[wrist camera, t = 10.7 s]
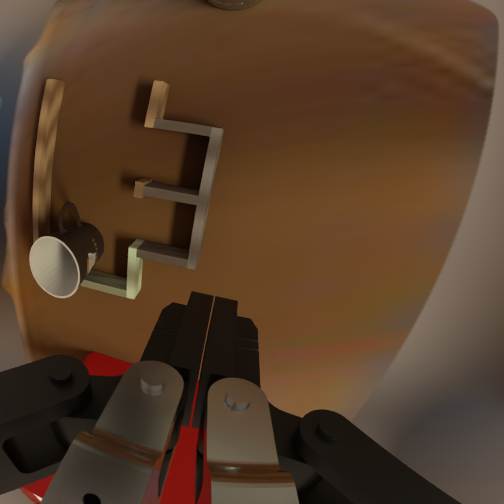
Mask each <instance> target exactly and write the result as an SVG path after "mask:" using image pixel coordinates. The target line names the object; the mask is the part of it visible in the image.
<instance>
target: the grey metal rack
mask: <svg viewBox="0 0 504 504" xmlns="http://www.w3.org/2000/svg"><path fill="white" fill-rule="evenodd" d="M64 86H65V81H61V80H56V79H47V81H46V86H45V91H44V96H43V101H42V107H41V113H40V119H39V126H38V134H37V142H36V151H35V163H34V179H33V243H34V242H35V241H36V240H37V239H39V238H41V237H43V236H46V235H49V234H50V204H51V181H52V168H53V157H54V147H55V139H56V131H57V125H58V118H59V112H60V106H61V101H62V96H63V91H64ZM169 89H170V85H168V84H167V83H165V82H163V81H154V83H153V88H152V92H151V96H150V101H149V105H148V110H147V115H146V120H145V125H144V127H150V128H158V129H165V130H172V131H179V132H185V133H192V134H198V135H204V136H209V137H210V140H209V145H208V150H207V155H206V160H205V165H204V170H203V175H202V180H201V185H200V191H199V190H194V189H189V188H183V187H178V186H172V185H167V184H161V183H155V182H152V179H149V178H142V179H140V180H138V181H135V188H134V196H133V197H138V198H143V197H145V196H150V197H155V198H161V199H166V200H171V201H177V202H182V203H187V204H192V205H197V207H196V213H195V219H194V225H193V231H192V237H191V243H190V250H189V249H184V248H179V247H174V246H169V245H164V244H159V243H155V242H150V241H145V240H140V239H136V240H135V241H134V242H133V243H132V244H131V245H130V246H129V250H128V267H127V278H124V277H120V276H115V275H111V274H107V273H103V272H99V271H95V270H90V272H89V273H88V275H87V276H86V277H85V279H84V280H83V282H82V283H81V286H84V287H88V288H91V289H95V290H99V291H103V292H106V293H110V294H114V295H118V296H122V297H126V298H130V299H135V297H136V295H137V294H138V292H139V291H140V289H141V279H142V265H143V259H147V260H152V261H156V262H161V263H166V264H170V265H175V266H180V267H185V268H189V269H194V270H196V267H197V265H198V262H199V259H200V253H201V247H202V241H203V235H204V230H205V224H206V219H207V213H208V208H209V203H210V197H211V192H212V187H213V182H214V177H215V172H216V167H217V162H218V157H219V153H220V148H221V143H222V139H223V134H224V129H221V128H215V127H209V126H204V125H198V124H191V123H185V122H178V121H171V120H163V116H164V111H165V106H166V102H167V97H168V93H169Z"/></svg>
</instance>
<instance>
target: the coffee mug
mask: <svg viewBox="0 0 504 504" xmlns="http://www.w3.org/2000/svg"><path fill="white" fill-rule="evenodd" d="M69 206H71V208H72V209H73V211H74V215H75V219H76V222H77V225H74V226H71V227H69V228H66V229H64V227H63V216H64V213H65V211H66V209H67V208H68V207H69ZM58 225H59V230H60V231H57V232H54V233H52V234H49V235H46V236H43V237H41V238H39V239H37V240H36V241H35V242H34V244H33V245H32V247H31V250H30V257H29V260H30V267H31V271H32V273H33V276H34V278H35V280H36V281H37V283H38V284H39V285H40V287H41V288H42V289H43V290H44V291H46V292H47V293H48V294H50V295H52V296H54V297H58V298H67V297H69V296H72V295H73V294H74V293H75V292H76V290H77V289H78V287H79V286H80V285H81V283H82V282H83V280H84V279H85V277H86V276H87V275H88V273H89V272H90V270H91V269H92V268H93V266H94V265H95V264H96V262H97V261H98V259H99V258H100V257H101V255H102V253H103V250H104V241H103V238H102V235H101V233H100V232H99V231H98V229H97V228H96V227H94V226H93V225H91V224H89V223H81V222H80V218H79V215H78V211H77V208H76V206H75V205H74V204H73V203H71V202H67V203H66V204H65V205H64V206H63V207H62V209H61V212H60V215H59V220H58Z"/></svg>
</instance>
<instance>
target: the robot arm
mask: <svg viewBox="0 0 504 504" xmlns="http://www.w3.org/2000/svg"><path fill="white" fill-rule="evenodd" d="M207 1H208V2H209V3H210V4H212V5H213V6H215V7H218V8H221V9H225V10H242V9H246V8H249V7H251V6H254V5H256V4H257V3H259V2H260V1H261V0H207ZM213 297H214V296H212V295H207V294H203V293H198V292H194V291H192V292H191V295H190V298H189V301H188V304H187V305H182V304H178V303H174V302H173V303H171V304H170V305H168V306H167V307H165V308H164V309H163V310H162V312H161V314H160V316H159V319H158V321H157V323H156V325H155V327H154V330H153V332H152V334H151V337H150V339H149V341H148V343H147V346H146V348H145V350H144V353H143V355H142V357H141V360H140V362H138V363H135V364H133V365H131V366H130V367H129V368H128V369H127V370H126V372H125V373H124V374H122V375H118V376H98V375H89V372H88V369H87V368H86V366H85V365H84V364H83V363H82V362H81V361H79V360H78V359H76V358H74V357H71V356H67V355H54V356H50V357H47V358H44V359H41V360H37V361H34V362H31V363H28V364H25V365H22V366H19V367H15V368H12V369H9V370H6V371H3V372H0V495H1V494H4V493H7V492H9V491H12V490H15V489H18V488H21V487H23V486H26V485H29V484H31V483H34V482H36V481H39V480H41V479H44V478H46V477H49V476H51V475H53V474H55V475H54V477H53V479H52V481H51V483H50V485H49V487H48V489H47V491H46V493H45V495H44V497H43V499H42V501H41V503H39V504H160V501H161V497H162V493H163V490H164V486H165V483H166V479H167V476H168V472H169V469H170V465H171V462H172V459H173V455H174V452H175V448H176V445H177V443H178V441H179V437H180V432H181V427H182V426H187V427H189V424H190V418H191V412H192V407H193V401H194V396H195V390H196V385H197V380H198V374H199V369H200V364H201V358H202V353H203V348H204V343H205V337H206V332H207V327H208V322H209V317H210V312H211V307H212V302H213ZM237 305H238V301H236V300H231V299H226V298H222V297H217V296H216V297H215V302H214V306H213V311H212V316H211V321H210V326H209V331H208V336H207V341H206V346H205V351H204V357H203V362H202V368H201V373H200V379H199V385H198V391H197V396H196V402H195V408H194V414H193V420H192V426H191V427H193V428H198V429H199V431H198V438H197V444H196V448H195V460H194V500H193V504H461V503H460V502H458V501H457V500H455V499H453V498H452V497H451V496H449V495H448V494H446V493H444V492H443V491H442V490H440V489H439V488H437V487H436V486H434V485H433V484H432V483H430V482H429V481H427V480H426V479H425V478H423V477H422V476H420V475H419V474H418V473H416V472H415V471H413V470H412V469H411V468H409V467H408V466H407V465H405V464H404V463H402V462H401V461H400V460H398V459H397V458H396V457H394V456H393V455H392V454H391V453H389V452H388V451H386V450H385V449H384V448H383V447H381V446H380V445H379V444H377V443H376V442H375V441H374V440H372V439H371V438H370V437H369V436H367V435H366V434H365V433H364V432H362V431H361V430H360V429H358V428H357V427H356V426H355V425H354V424H352V423H351V422H350V421H349V420H347V419H346V418H345V417H343V416H342V415H340V414H338V413H336V412H334V411H330V410H314V411H311V412H309V413H307V414H306V415H305V416H304V417H303V418H301V417H298V416H295V415H292V414H289V413H287V412H284V411H282V410H279V409H278V408H276V407H274V406H273V405H272V404H270V403H269V402H268V400H267V397H266V395H265V393H264V392H263V391H262V390H261V387H260V369H259V352H258V349H259V348H258V329H257V328H256V326H255V325H254V323H253V321H252V320H251V319H249V318H244V317H239V316H237Z"/></svg>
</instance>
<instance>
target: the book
mask: <svg viewBox="0 0 504 504" xmlns="http://www.w3.org/2000/svg"><path fill="white" fill-rule="evenodd" d="M83 364H84V365H85V366H86V368H87V369H88V372H89V375H98V376H118V375H122V374H124V373H125V372H126V370H127V369H128V368H129V367H130V366H131V365H133V364H132V363H128V362H125V361H122V360H119V359H115V358H112V357H109V356H106V355H103V354H100V353H97V352H92V353H89V354H88V355H87V357H86V359H85V360H84V362H83ZM198 385H199V381H197V385H196V390H195V396H194V401H193V407H192V412H191V418H190V424H189V427H187V426H182V427H181V432H180V437H179V441H178V443H177V445H176V448H175V452H174V455H173V459H172V462H171V465H170V469H169V472H168V476H167V479H166V483H165V486H164V490H163V493H162V497H161V501H160V504H193V500H194V460H195V448H196V444H197V438H198V431H199V429H198V428H193V427H191V426H192V420H193V414H194V408H195V402H196V396H197V391H198ZM54 475H55V474H53V475H51V476H49V477H46V478H44V479H41V480H39V481H36V482H34V483H31V484H29V485H26V486H23V487H21V488H20V489H21V490H22V491H23V493H24V494H25V495H26V496H27V497H28V498H29V499H31V500H32V501H33V502H35V503H36V504H39V503H41V501H42V499H43V497H44V495H45V493H46V491H47V489H48V487H49V485H50V483H51V481H52V479H53V477H54Z"/></svg>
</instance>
